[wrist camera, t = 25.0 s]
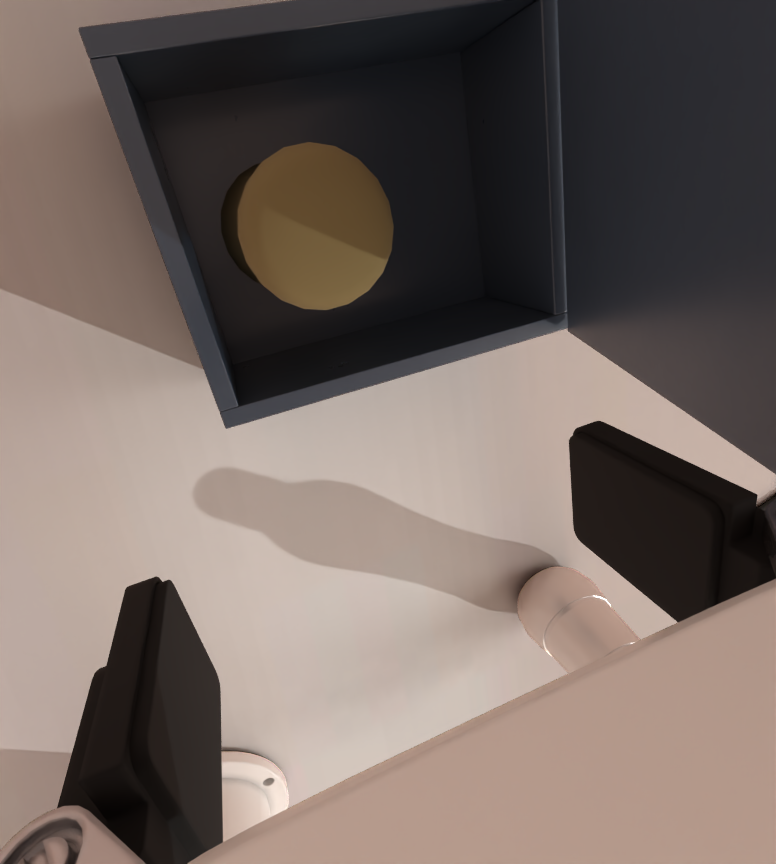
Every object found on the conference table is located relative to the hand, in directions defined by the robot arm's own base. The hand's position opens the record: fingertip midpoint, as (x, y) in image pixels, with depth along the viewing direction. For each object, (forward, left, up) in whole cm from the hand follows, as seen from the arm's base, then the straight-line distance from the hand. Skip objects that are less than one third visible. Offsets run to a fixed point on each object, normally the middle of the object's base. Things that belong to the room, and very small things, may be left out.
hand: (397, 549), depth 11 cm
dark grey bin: (+6, +5, -19) cm, 21 cm away
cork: (+3, +6, -19) cm, 20 cm away
